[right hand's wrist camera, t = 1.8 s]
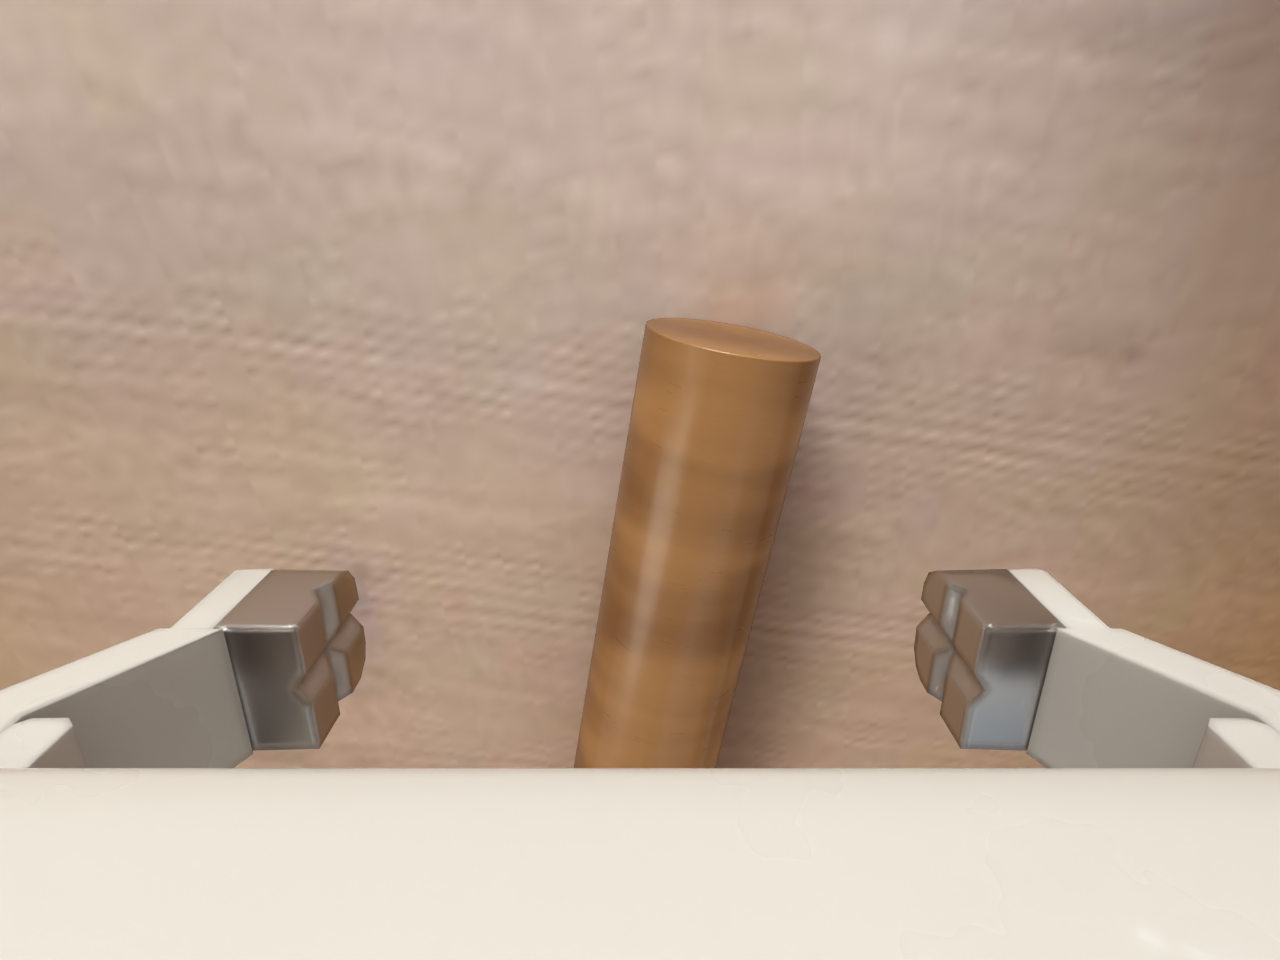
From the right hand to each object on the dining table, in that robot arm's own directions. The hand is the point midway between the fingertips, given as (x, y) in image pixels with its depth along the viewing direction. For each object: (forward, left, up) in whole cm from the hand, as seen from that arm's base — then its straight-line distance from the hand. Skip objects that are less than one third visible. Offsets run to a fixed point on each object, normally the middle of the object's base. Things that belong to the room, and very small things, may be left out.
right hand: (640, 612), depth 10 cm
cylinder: (+3, +10, -19) cm, 21 cm away
